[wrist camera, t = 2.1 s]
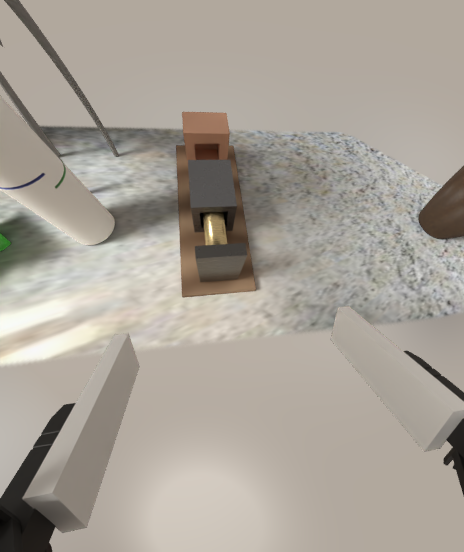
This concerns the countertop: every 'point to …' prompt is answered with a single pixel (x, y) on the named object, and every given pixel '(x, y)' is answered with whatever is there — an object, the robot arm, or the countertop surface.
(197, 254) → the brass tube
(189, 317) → the countertop surface
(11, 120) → the cylindrical container
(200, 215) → the metal sleeve
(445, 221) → the plant pot
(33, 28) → the citrus juicer
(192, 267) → the walnut board
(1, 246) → the fruit basket
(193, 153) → the terracotta socket
